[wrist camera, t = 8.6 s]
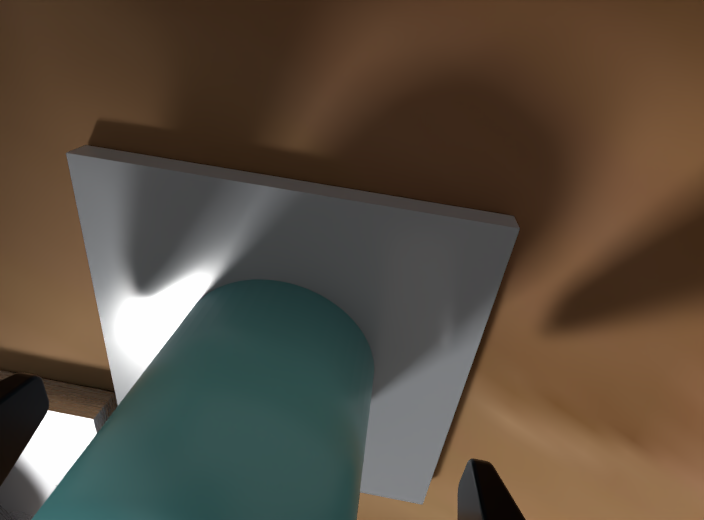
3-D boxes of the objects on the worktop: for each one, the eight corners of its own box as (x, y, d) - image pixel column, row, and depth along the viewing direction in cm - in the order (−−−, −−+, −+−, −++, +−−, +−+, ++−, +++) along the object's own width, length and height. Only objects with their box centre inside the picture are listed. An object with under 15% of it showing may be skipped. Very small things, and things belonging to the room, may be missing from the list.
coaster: (422, 485, 13) (422, 504, 13) (136, 429, 14) (125, 445, 13) (513, 215, 9) (520, 228, 8) (85, 144, 9) (66, 152, 9)
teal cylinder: (242, 442, 12) (131, 715, 8) (144, 310, 10) (-89, 566, 6) (402, 411, 11) (390, 723, 6) (323, 253, 9) (217, 528, 4)
